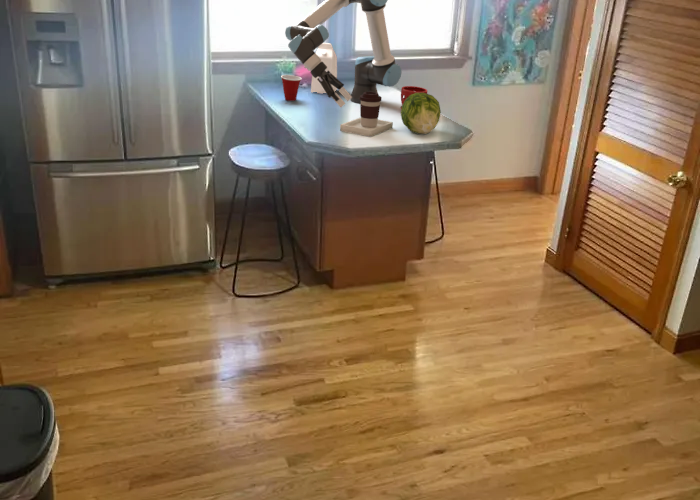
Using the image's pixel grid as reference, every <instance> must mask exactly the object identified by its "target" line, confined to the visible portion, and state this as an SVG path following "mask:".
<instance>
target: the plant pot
mask: <svg viewBox="0 0 700 500" xmlns="http://www.w3.org/2000/svg"><path fill="white" fill-rule="evenodd" d="M400 90H401V91H400V103H401V106H400V110H401V109H402V105H403V103H404V101H405V100H406V99H407V98H408V97H409V96H410V95H412V94H414V93H426V94H428V89H426V88H425V87H420V86H415V85H414V86H411V85H406V86H405V85H404V86H402V87H401V89H400Z"/></svg>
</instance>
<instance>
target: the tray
mask: <svg viewBox="0 0 700 500" xmlns="http://www.w3.org/2000/svg"><path fill="white" fill-rule="evenodd" d="M393 126H394V122H393V121H389V120H384V119H383V120H381V119H378V120H377V126H376V127H371V128H370V127H363V126H362V125H361V116H360V117H358V118H355V119H352V120H349V121H346V122H344V123H341V124H340V130H339V131H341V132H346V133H349V134H355V135H361V136H365V137H370V138H371V137H375V136H377V135H379V134H382V133H384V132H387V131H389V130H391V129H393V128H394V127H393Z"/></svg>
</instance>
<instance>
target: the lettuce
mask: <svg viewBox="0 0 700 500" xmlns="http://www.w3.org/2000/svg"><path fill="white" fill-rule="evenodd" d="M401 106H402V109H401V108H400V116H401V121H402V123H403V125H404V127H405V128H407V129H408V130H409V131H410V132H412V133H415V134H419V135H426V134H429V133H431V132H432V131H433V130H434V129H435V128H436V126H437V125H438V124H439V122H440V117H441V112H442V111H441V105H440V102H439V100H438V99H437V98H436V97H435V96H434V95H432V94H429V93H427V94H426V93H414V94H412V95H410V96H409V97H408V98H407V99H406V100H405V101H404V103H403V105H402V104H401Z"/></svg>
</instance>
